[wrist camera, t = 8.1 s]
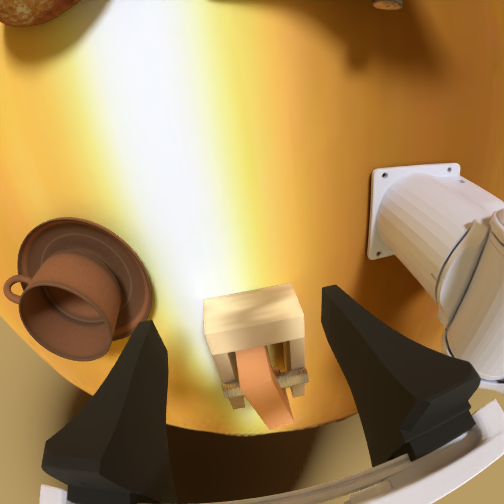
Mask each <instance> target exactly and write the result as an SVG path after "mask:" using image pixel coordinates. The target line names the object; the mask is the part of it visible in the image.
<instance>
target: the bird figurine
mask: <svg viewBox="0 0 504 504" xmlns="http://www.w3.org/2000/svg"><path fill="white" fill-rule="evenodd" d="M372 4H373V6H374V7H376V8H379V9H386V10H397V9H401V8H402V7H403V0H373V3H372Z"/></svg>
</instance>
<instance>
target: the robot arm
mask: <svg viewBox="0 0 504 504" xmlns="http://www.w3.org/2000/svg"><path fill="white" fill-rule="evenodd" d="M448 168H449V169H448ZM447 170H448V171H447ZM383 173H385V176H384V177H382V174H383ZM377 252H379V253H378V254H377ZM391 255H395V256H396V257H397V258H398V259H399V260H400V261H401V262H402V263H403V264H404V266H405V267H406V268H407V269H408V270H409V271H410V272H411V274H412V275H413V276H414V277H415V278H416V279H417V280H418V282H419V283H420V284H421V285H422V286H423V287H424V289H425V290H426V291H427V292H428V293H429V295H430V296H431V297H432V298H433V299H434V301H435V302H436V303H437V304H438V306H439V312H438V315H437V318H438V319H439V321H440V322H441V323H442V325H443V326H444V327H445V330H444V332H443V335H442V339H441V347H442V352H443V354H442V353H439V352H437V351H434V350H432V349H429V348H427V347H425V346H423V345H421V344H419V343H417V342H414V341H413V340H411V339H409V338H407V337H405V336H403V335H402V334H400V333H398V332H397V331H395V330H393V329H392V328H390V327H389V326H387V325H386V324H384V323H383V322H382V321H380V320H379V319H377V318H376V317H375V316H373V315H372V314H371V313H370V312H368V311H367V310H366V309H364V308H363V307H362V306H361V305H359V304H358V303H357V302H356V301H355V300H353V299H352V298H351V297H350V296H349V295H348V294H346V293H345V292H344V291H343V290H342V289H341V288H339V287H338V286H337V285H331V286H327V287H323V288H322V312H321V323H322V326H323V329H324V332H325V334H326V337H327V340H328V343H329V345H330V347H331V349H332V351H333V353H334V355H335V357H336V359H337V361H338V363H339V365H340V367H341V369H342V371H343V373H344V375H345V377H346V380H347V382H348V384H349V386H350V389H351V392H352V394H353V397H354V400H355V403H356V406H357V409H358V413H359V416H360V419H361V422H362V426H363V430H364V433H365V437H366V441H367V445H368V449H369V453H370V458H371V462H372V467H373V468H370V469H368V470H365V471H362V472H359V473H356V474H353V475H350V476H347V477H344V478H341V479H338V480H335V481H331V482H328V483H324V484H321V485H317V486H313V487H309V488H305V489H301V490H297V491H292V492H288V493H283V494H277V495H272V496H266V497H260V498H253V499H246V500H238V501H229V502H219V503H204V504H317V503H320V502H324V501H328V500H331V499H335V498H338V497H341V496H344V495H347V494H350V493H353V492H356V491H359V490H362V489H365V488H367V487H370V486H372V487H370V488H368V489H366V490H363V491H361V492H358V493H356V494H354V495H351V497H350V500H348V501H346V502H345V503H344V504H432V503H433V502H435V501H437V500H439V499H440V498H442V497H444V496H445V495H447V494H448V493H450V492H452V491H453V490H455V489H456V488H458V487H460V486H461V485H463V484H464V483H466V482H467V481H469V480H470V479H471V478H473V477H474V476H476V475H477V474H478V473H480V472H481V471H483V470H484V469H485V468H486V467H488V466H489V465H490V464H492V463H493V462H494V461H496V460H497V459H498V458H499V457H501V456H502V455H503V454H504V412H503V411H502V409H501V407H500V405H499V404H498V402H497V401H496V399H493V400H492V401H490V402H489V403H487V404H486V405H484V406H483V407H481V408H480V409H478V410H477V411H476V412H475V413H473V414H472V415H471V414H470V412H469V409H470V408H471V405H470V404H469V402H468V400H469V399H470V397H471V396H472V395H473V393H474V392H475V391H476V390H477V388H482V389H490V390H495V391H497V392H499V393H501V394H503V395H504V202H503V201H501V200H500V199H498V198H497V197H495V196H494V195H492V194H490V193H489V192H487V191H486V190H484V189H482V188H481V187H479V186H477V185H475V184H474V183H472V182H470V181H468V180H467V179H465V178H463V177H461V176H460V165H459V164H457V163H443V164H427V165H413V166H401V167H390V168H379V169H375V170H374V171H373V172H372V180H371V207H370V224H369V238H368V250H367V256H368V258H369V259H371V260H374V259H379V258H383V257H387V256H391ZM167 388H168V353H167V349H166V347H165V345H164V343H163V341H162V339H161V337H160V335H159V333H158V331H157V329H156V327H155V325H154V323H153V321H152V320H150V321H143V322H139V323H138V325H137V326H136V328H135V330H134V332H133V333H132V335H131V337H130V339H129V341H128V342H127V344H126V346H125V348H124V350H123V351H122V353H121V355H120V356H119V358H118V360H117V362H116V363H115V365H114V367H113V368H112V370H111V371H110V373H109V374H108V376H107V378H106V379H105V381H104V382H103V383H102V385H101V386H100V388H99V389H98V390H97V392H96V393H95V394H94V396H93V397H92V398H91V399H90V400H89V401H88V403H87V404H86V405H85V406H84V407H83V408H82V410H81V411H80V412H79V413H78V414H77V415H76V416H75V417H74V418H73V419H72V420H71V421H70V422H69V423H68V424H66V425H65V426H64V427H63V428H62V429H61V430H60V431H58V432H57V433H56V434H55V435H54V436H52V437H51V438H50V439H48V440H47V441H46V444H45V449H44V454H43V460H42V466H41V467H42V469H43V470H44V471H45V472H46V473H47V474H49V475H50V476H52V477H54V478H56V479H58V480H59V481H61V482H63V483H65V484H67V485H68V491H67V490H64V489H61V488H57V487H53V486H49V485H45V484H42V485H41V493H40V503H39V504H176V503H177V502H178V499H177V496H176V491H175V487H174V482H173V477H172V471H171V466H170V459H169V451H168V443H167V432H166V404H167ZM378 483H379V484H378ZM375 484H377V485H375ZM373 485H374V486H373Z"/></svg>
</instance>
